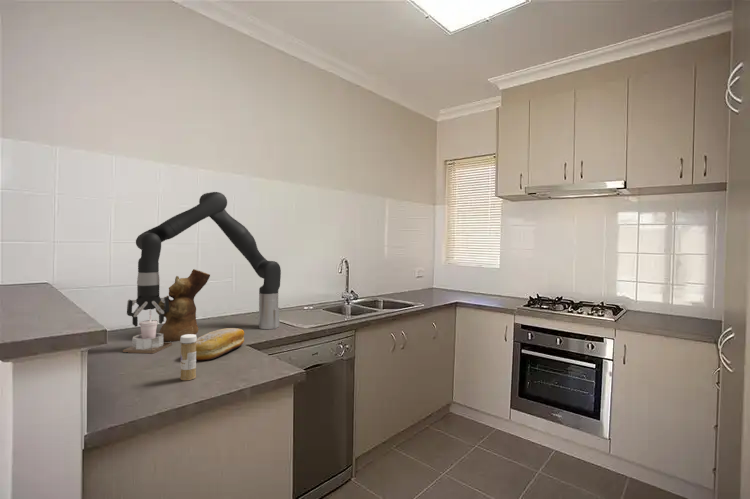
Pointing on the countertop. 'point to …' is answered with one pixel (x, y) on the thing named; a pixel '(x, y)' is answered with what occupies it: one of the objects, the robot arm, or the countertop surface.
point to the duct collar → (147, 344)
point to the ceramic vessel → (182, 306)
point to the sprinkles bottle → (188, 356)
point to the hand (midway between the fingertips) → (148, 324)
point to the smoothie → (148, 328)
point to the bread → (218, 343)
